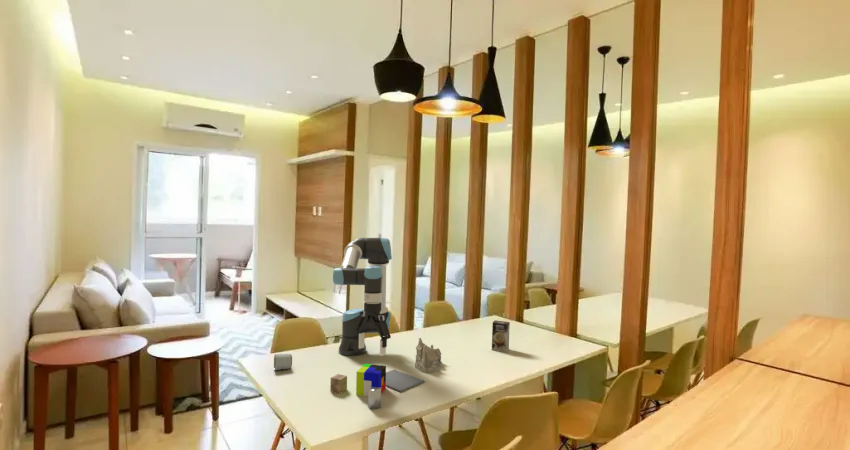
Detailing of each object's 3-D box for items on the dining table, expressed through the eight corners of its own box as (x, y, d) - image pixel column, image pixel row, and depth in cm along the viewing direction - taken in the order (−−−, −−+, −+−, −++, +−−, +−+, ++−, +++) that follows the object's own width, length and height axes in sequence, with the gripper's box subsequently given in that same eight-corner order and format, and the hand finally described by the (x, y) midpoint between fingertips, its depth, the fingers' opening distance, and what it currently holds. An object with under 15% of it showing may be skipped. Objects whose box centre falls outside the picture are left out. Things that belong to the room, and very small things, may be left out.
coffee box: (491, 350, 244) (491, 322, 244) (493, 347, 250) (494, 319, 250) (507, 352, 241) (507, 324, 241) (509, 349, 247) (509, 321, 247)
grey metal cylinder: (365, 406, 168) (365, 389, 168) (374, 402, 172) (375, 385, 172) (374, 410, 165) (374, 393, 165) (383, 406, 169) (383, 389, 169)
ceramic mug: (292, 370, 206) (292, 354, 206) (275, 372, 203) (275, 356, 203) (289, 363, 216) (289, 348, 216) (272, 365, 212) (272, 350, 212)
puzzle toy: (378, 397, 177) (379, 373, 177) (356, 395, 179) (356, 371, 179) (385, 388, 187) (386, 365, 187) (364, 386, 189) (364, 363, 189)
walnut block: (330, 391, 183) (330, 377, 183) (337, 387, 187) (337, 373, 187) (339, 393, 180) (340, 379, 180) (346, 389, 185) (347, 376, 185)
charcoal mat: (369, 380, 196) (369, 378, 196) (394, 371, 208) (394, 369, 208) (400, 392, 183) (400, 390, 183) (424, 382, 195) (424, 380, 195)
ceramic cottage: (422, 374, 205) (424, 342, 205) (409, 364, 220) (411, 335, 220) (451, 371, 211) (452, 341, 212) (436, 362, 226) (438, 334, 227)
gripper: (347, 299, 188) (346, 347, 188) (386, 307, 172) (385, 359, 172) (360, 297, 194) (359, 343, 194) (399, 305, 177) (398, 355, 178)
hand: (371, 351), depth 183 cm, fingers open, 13 cm apart
